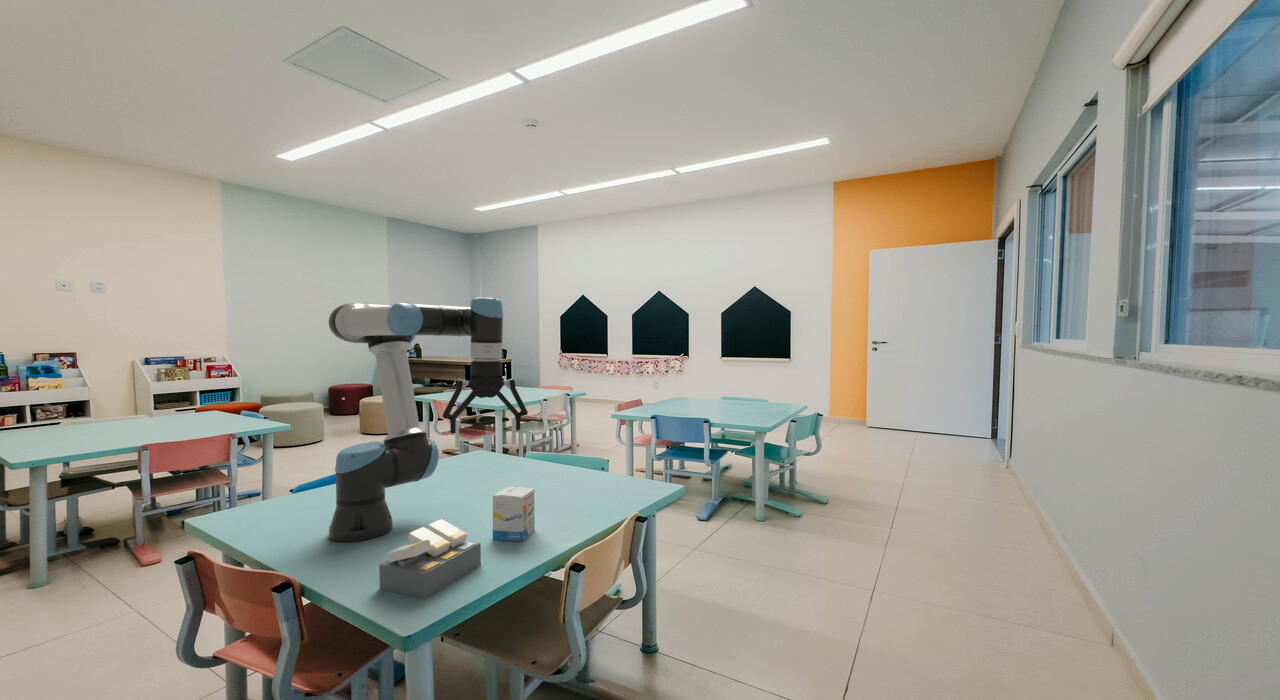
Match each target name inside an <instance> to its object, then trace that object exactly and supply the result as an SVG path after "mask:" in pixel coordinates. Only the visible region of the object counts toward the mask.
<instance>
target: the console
mask: <svg viewBox="0 0 1280 700" xmlns="http://www.w3.org/2000/svg"><path fill="white" fill-rule="evenodd" d="M481 546H482V543H481V542H477V541H472V540H467V539H466V541H465V542H463V543H461V544H459V545H457V546H455V547H451V546H449V549H448V551H446V552H444V553H442V554H440V555H438V556H436V557H433V556H432V555H430V554H428V553H427V552H424V553H422V554H420V555H418V556H415V557H410V558H406V559H402V560H397V561H393V562H389V561H388V560H386V561H384V562H382V563H380V564H378V565H379V589H381V590H385V591H389V592H393V593H397V594H401V595H405V596H411V597H414V598H418V599H422V600H423V599H424V600H425V599H426V598H429V596H431V595H434V594H435V593H436V592H438V591H439V590H442V588H443V589H444V587H446V586H448V585H450V584H451V583H453V582H455V581H456V580H457V579H459V578H462V577H463V576H465V575H466V574H467V573H469V572H471V571H473V570H475V568H477V567H479V566H481V564H482V556H481V553H482V551H481V549H482V547H481Z"/></svg>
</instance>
